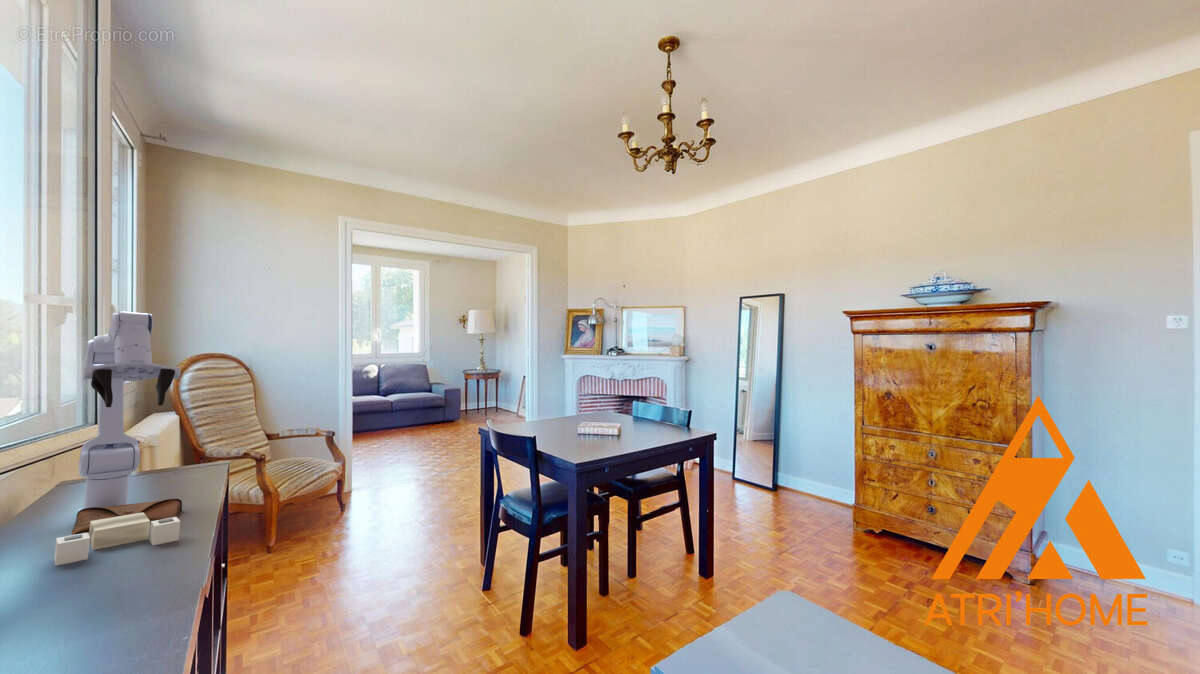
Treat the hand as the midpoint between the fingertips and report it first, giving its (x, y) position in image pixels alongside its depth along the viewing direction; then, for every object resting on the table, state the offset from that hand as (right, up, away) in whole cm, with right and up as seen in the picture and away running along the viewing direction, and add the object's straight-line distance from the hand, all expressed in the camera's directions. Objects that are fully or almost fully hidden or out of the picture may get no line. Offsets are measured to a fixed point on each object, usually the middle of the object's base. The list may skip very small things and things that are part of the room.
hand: (136, 403), depth 96 cm
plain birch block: (-5, -29, +2) cm, 30 cm away
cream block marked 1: (-4, -28, -8) cm, 30 cm away
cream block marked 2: (+4, -29, +2) cm, 30 cm away
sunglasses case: (-13, -30, +11) cm, 34 cm away
